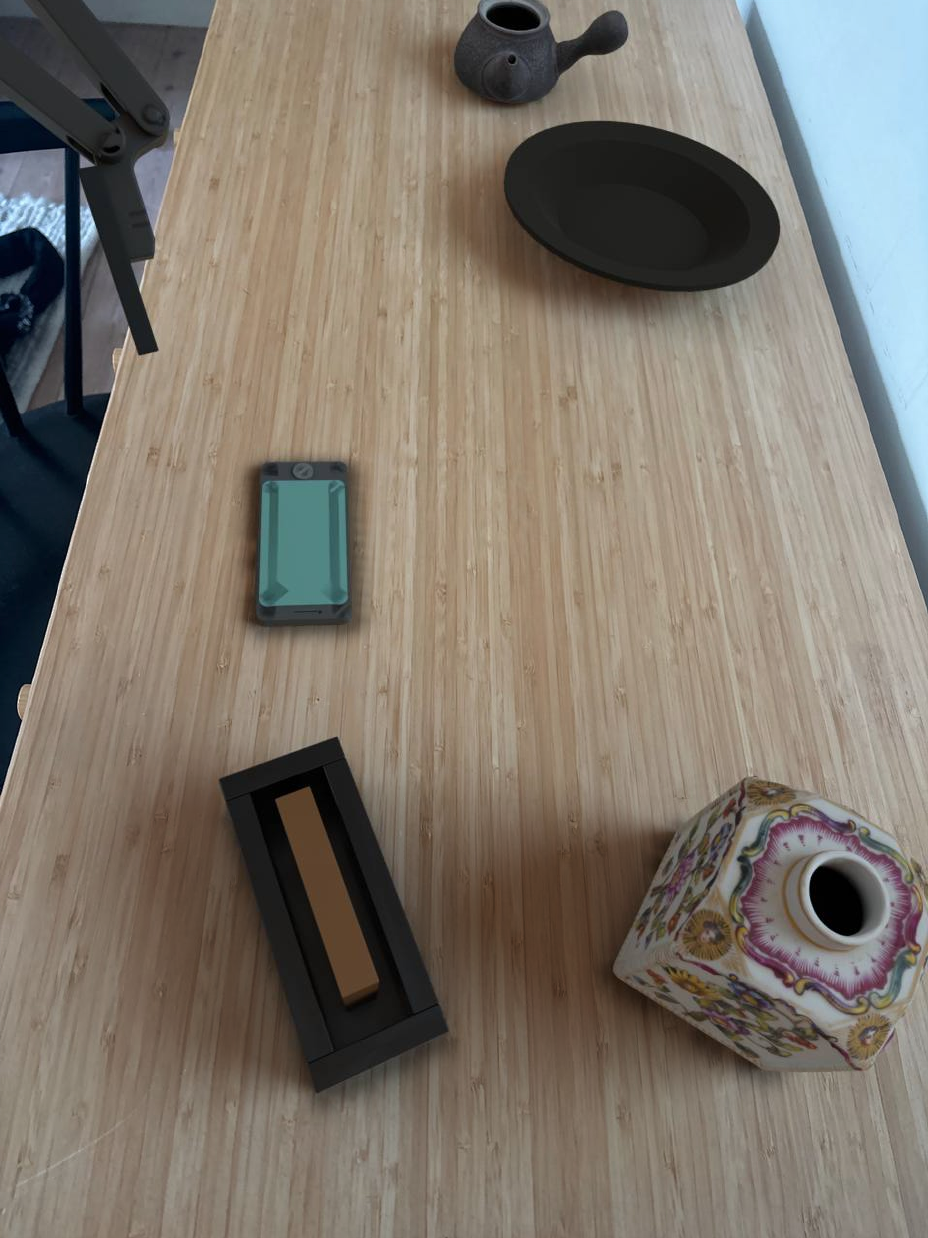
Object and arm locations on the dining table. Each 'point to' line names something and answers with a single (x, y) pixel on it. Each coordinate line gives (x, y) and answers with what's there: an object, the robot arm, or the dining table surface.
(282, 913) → the black open box
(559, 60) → the teapot
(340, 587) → the smartphone
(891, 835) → the decorative jar
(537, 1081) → the dining table surface
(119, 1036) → the dining table surface
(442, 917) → the dining table surface
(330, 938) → the thin brown wooden plank
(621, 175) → the plate
